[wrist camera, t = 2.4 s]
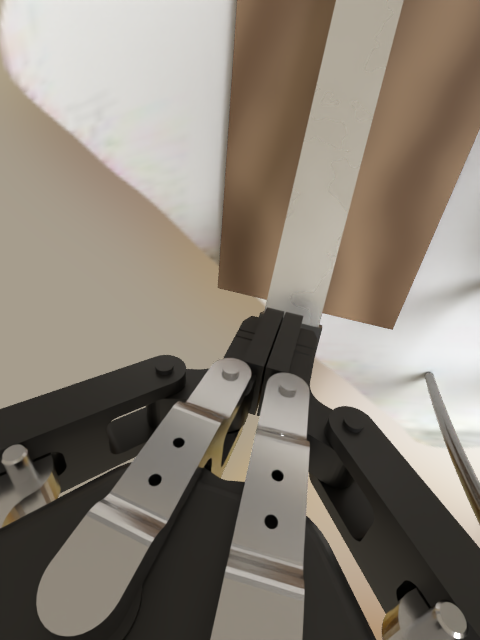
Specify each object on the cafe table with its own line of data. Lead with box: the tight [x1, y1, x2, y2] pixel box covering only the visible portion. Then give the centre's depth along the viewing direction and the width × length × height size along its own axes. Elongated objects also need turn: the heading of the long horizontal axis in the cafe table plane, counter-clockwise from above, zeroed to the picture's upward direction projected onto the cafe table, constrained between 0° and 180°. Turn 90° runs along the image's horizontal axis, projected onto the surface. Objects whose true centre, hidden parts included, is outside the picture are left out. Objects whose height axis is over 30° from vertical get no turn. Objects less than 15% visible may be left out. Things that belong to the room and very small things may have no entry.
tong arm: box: [259, 0, 404, 354], centre depth 17 cm, size 4×24×1 cm, turn 174°
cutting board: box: [218, 0, 480, 330], centre depth 24 cm, size 16×28×2 cm, turn 174°
